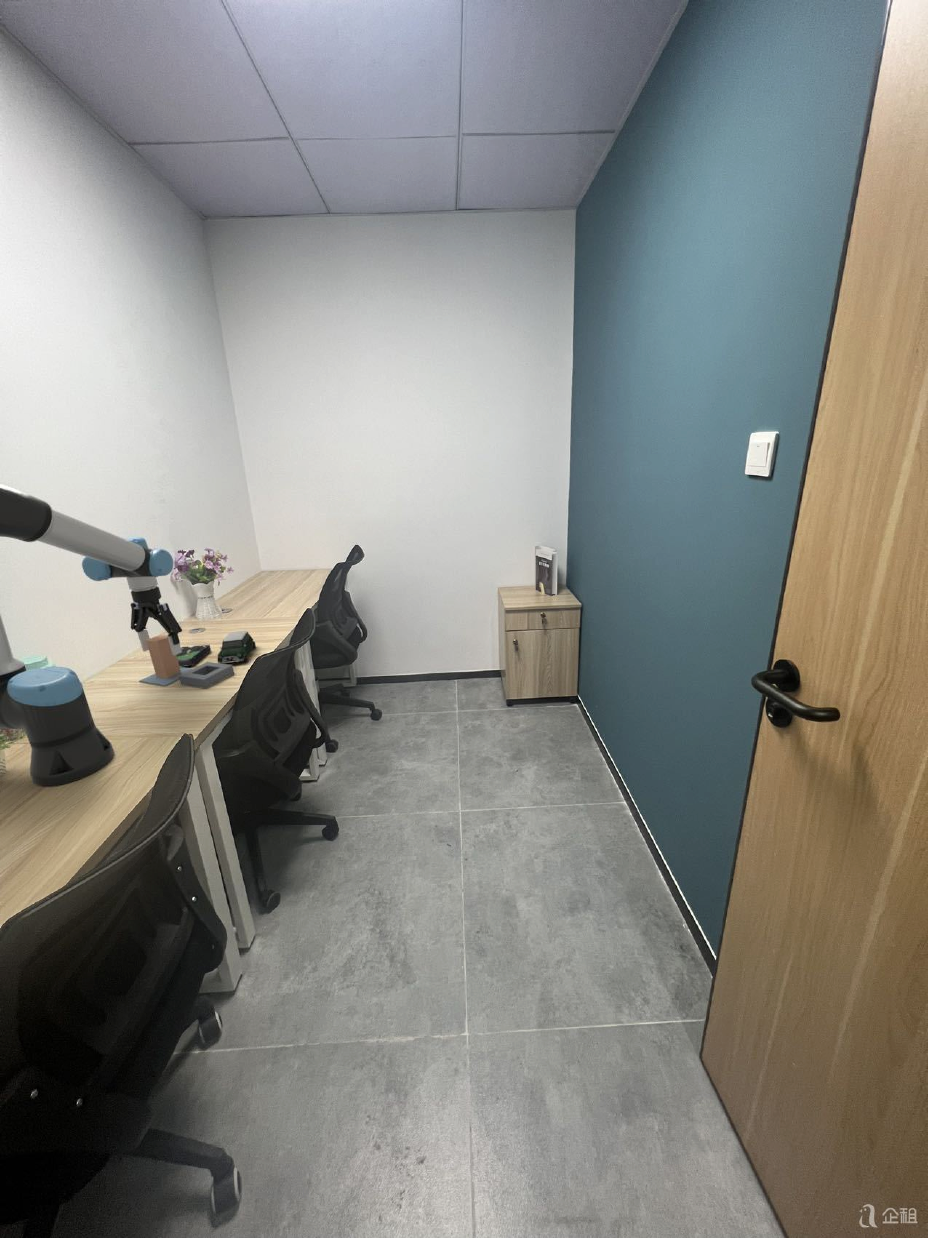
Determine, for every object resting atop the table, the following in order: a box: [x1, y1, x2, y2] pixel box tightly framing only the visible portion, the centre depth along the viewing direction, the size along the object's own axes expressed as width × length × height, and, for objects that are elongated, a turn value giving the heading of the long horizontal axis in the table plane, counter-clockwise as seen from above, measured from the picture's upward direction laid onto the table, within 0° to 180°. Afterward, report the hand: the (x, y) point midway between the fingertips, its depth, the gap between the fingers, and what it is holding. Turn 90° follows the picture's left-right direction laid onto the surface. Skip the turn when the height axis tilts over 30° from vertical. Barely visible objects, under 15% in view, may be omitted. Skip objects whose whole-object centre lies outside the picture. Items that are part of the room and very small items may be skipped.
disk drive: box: [177, 644, 212, 667], centre depth 171 cm, size 10×3×15 cm
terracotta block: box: [146, 634, 181, 679], centre depth 157 cm, size 5×5×13 cm
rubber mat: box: [138, 666, 192, 688], centre depth 159 cm, size 12×12×1 cm
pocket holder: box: [178, 661, 235, 689], centre depth 155 cm, size 11×11×3 cm
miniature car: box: [216, 630, 257, 664], centre depth 171 cm, size 9×18×8 cm, turn 10°
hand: (162, 651), depth 156 cm, fingers open, 13 cm apart
